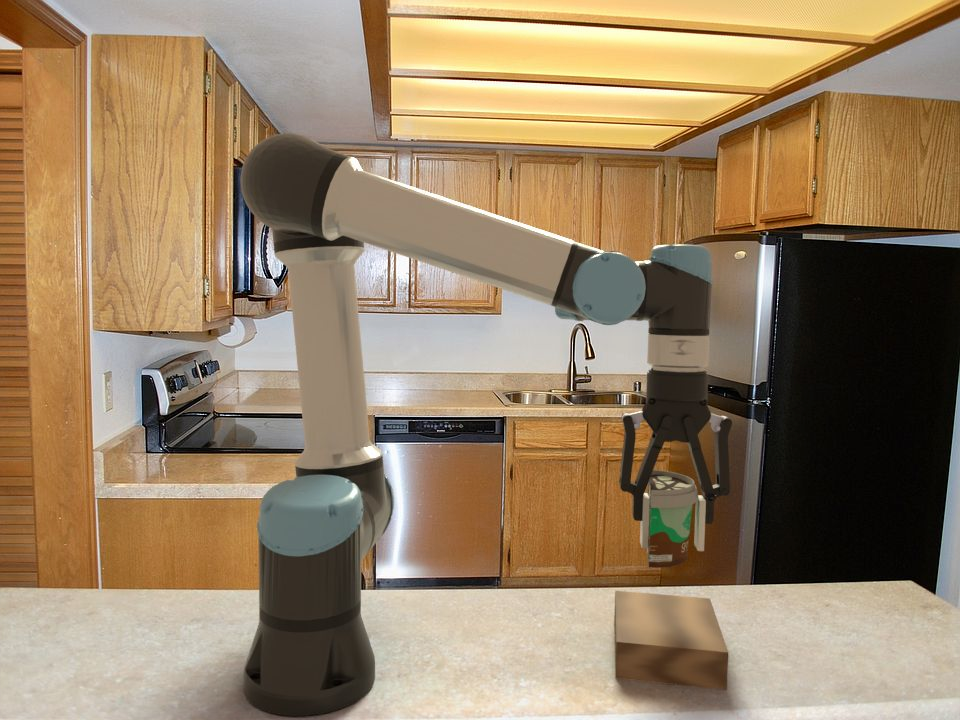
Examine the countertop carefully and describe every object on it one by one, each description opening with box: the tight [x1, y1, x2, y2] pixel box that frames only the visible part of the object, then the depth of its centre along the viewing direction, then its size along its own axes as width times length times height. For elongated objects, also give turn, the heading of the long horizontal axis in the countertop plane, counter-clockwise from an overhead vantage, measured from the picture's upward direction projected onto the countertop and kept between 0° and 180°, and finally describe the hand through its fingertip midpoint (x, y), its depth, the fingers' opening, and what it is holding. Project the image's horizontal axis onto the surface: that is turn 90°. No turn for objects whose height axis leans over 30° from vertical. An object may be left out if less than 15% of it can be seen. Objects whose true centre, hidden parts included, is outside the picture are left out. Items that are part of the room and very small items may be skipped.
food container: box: [646, 469, 699, 569], centre depth 94 cm, size 12×6×10 cm, turn 169°
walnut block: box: [613, 590, 729, 691], centre depth 96 cm, size 13×16×5 cm
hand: (671, 545), depth 95 cm, fingers closed on food container, 6 cm apart
